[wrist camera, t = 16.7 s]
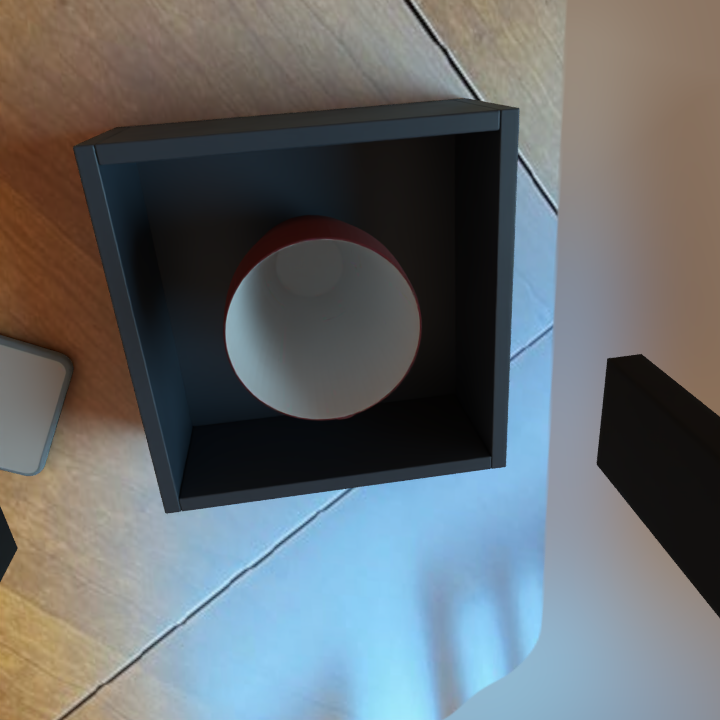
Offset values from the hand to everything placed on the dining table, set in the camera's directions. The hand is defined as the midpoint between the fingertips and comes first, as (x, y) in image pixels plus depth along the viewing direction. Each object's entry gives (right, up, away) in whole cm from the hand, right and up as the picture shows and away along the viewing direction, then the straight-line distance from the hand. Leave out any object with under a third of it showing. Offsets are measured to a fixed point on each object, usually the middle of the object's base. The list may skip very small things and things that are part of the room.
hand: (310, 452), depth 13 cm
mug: (-1, +6, +22) cm, 23 cm away
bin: (-2, +6, +22) cm, 23 cm away
